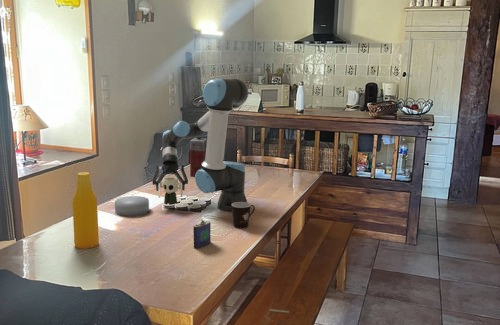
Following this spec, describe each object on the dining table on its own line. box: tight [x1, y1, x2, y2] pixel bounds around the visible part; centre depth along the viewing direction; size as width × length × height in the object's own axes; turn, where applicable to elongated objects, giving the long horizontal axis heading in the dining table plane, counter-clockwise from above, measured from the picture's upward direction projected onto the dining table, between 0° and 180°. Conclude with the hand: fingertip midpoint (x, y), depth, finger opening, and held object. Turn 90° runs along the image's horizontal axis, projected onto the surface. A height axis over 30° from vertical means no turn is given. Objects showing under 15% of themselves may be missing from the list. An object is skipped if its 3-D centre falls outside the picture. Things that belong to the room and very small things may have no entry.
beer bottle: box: [71, 171, 100, 250], centre depth 189 cm, size 9×9×29 cm
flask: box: [192, 219, 212, 249], centre depth 194 cm, size 9×3×11 cm, turn 144°
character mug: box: [160, 176, 181, 206], centre depth 238 cm, size 11×7×13 cm, turn 75°
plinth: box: [114, 195, 150, 217], centre depth 235 cm, size 16×16×5 cm
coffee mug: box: [231, 202, 256, 229], centre depth 217 cm, size 12×9×10 cm
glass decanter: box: [188, 137, 207, 178], centre depth 306 cm, size 9×11×28 cm
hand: (170, 196), depth 235 cm, fingers closed on character mug, 10 cm apart
